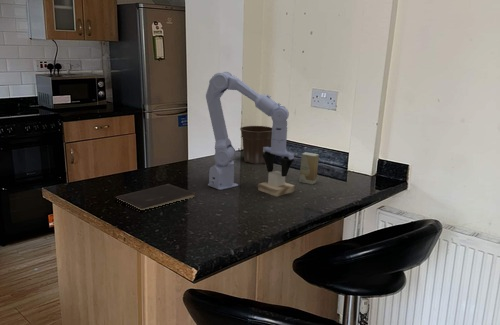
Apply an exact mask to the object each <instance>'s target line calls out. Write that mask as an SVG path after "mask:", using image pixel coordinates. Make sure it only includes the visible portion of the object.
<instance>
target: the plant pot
mask: <svg viewBox="0 0 500 325" xmlns="http://www.w3.org/2000/svg"><path fill="white" fill-rule="evenodd" d="M239 129H240V132H241V134H240V135H241V138H242V139H241V140H242V150H243V151H242V152H243V161H244V162H245V163H250V164H255V165H260V164H266V162H265V160H264V158H263V156H262V155H263V154H265V152H263V147H271V138H272V127H271V126H267V125H265V126H264V125H246V126H241V127H240V128H239Z"/></svg>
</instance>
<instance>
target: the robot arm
mask: <svg viewBox="0 0 500 325" xmlns="http://www.w3.org/2000/svg"><path fill="white" fill-rule="evenodd" d="M229 90H231V91H238V92H239V93H240V94H242V95H244V96H245V97H246V98H248V99H250V100H251V101H253V102H254V104H255V108H256V109H258V110H260V111H261V112H262V113H264V114H265V115H267V117H270V118H271V120H272V127H271V128H272V138H271V146H270V147H263V152H265V154H263V155H262V156H263V158H264V160H265V164H266V170H267V173H270V172H274V171H273V170H274V162H275V159H276V156H278V157H282V158H279V162H280V166H281V172H282V176H283V177H284V176H285V177H287V176H288V173H289V169H290V168H291V165H292V164H293V163H294V160H295V153H293V152H290V151H289V150H288V149H287V137H288V118H289V116H290V115H289V114H290V112H289V110H288V108H287V107H286V106H284V105H282V104H281V103H280V102H276V101H275V100H273V99H272V98H271V96H270V95H269V94H267V95H266V94H265V93H263V94H259V93H258V92H257V91H255V89H253V87H252V88H251V87H250V86H249V85H248V84H246V83H245V82H244V81H243V80H241V79H240V78H239V77H237V76H235V75H232V74H231V72H229V71H223V72H216V73H215V74H213V75H212V77H211V78H210V79H209V84H208V87H207V90H206V92H205V93H206V94H205V99H206V104H207V109H208V112H209V118H210V123H211V127H212V132H213V135H214V140H215V142H214V151H215V152H214V156H213V158H214V161H215V164H214V165H211V167H209V172H208V177H209V178H208V184H207V186H209V187H212V188H214V189H217V190H220V191H222V190H227V189H230V188H235V187H238V186H239V184H238V183H235V176H234V175H235V162H234V158H235V157H236V153H237V152H236V149H235V147H234V146H233V143H232V141H231V140H230V138H229V135H228V130H227V129H228V128H227V125H226V124H227V123H226V121H225V116H224V110H223V106H222V102H221V97H222V96H223V95H224V93H225V92H227V91H229Z"/></svg>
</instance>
